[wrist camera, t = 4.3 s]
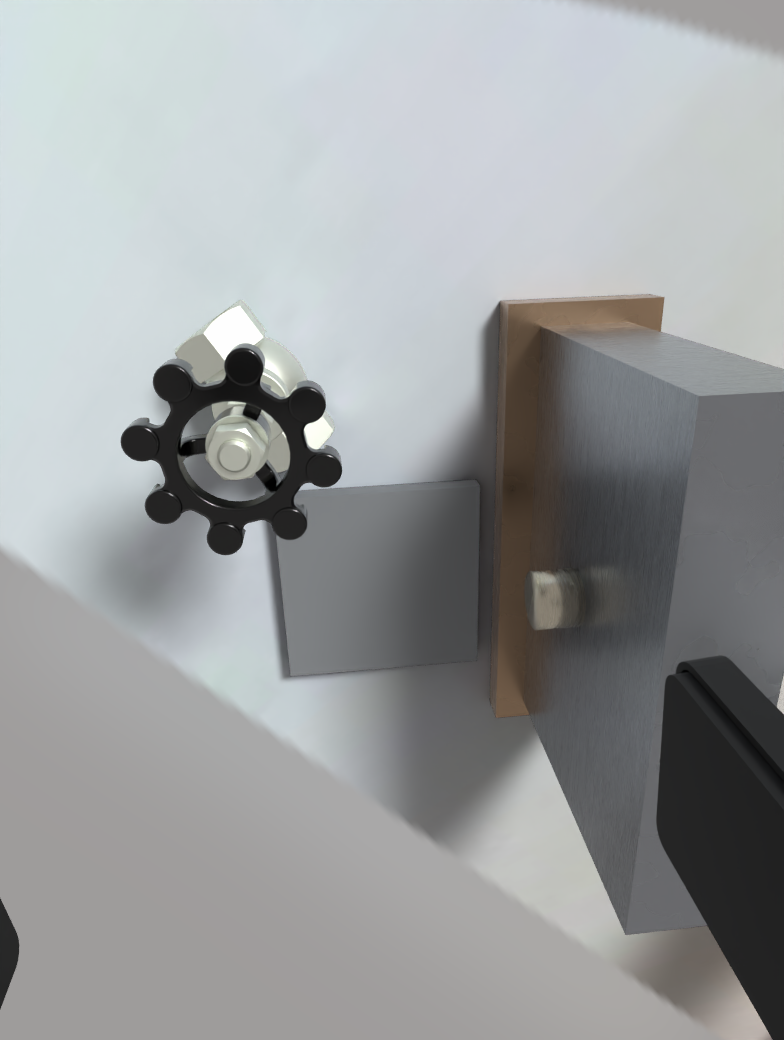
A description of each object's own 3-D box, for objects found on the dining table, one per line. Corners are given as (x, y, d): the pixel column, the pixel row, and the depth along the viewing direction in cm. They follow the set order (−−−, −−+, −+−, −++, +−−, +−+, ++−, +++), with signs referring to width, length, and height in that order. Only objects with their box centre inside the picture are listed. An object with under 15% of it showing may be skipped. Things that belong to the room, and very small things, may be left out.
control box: (649, 294, 33) (908, 346, 18) (608, 690, 41) (763, 937, 27) (493, 301, 32) (635, 360, 18) (484, 701, 40) (575, 959, 26)
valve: (250, 474, 34) (218, 593, 23) (156, 361, 32) (70, 433, 21) (362, 395, 33) (385, 480, 22) (274, 273, 31) (251, 299, 20)
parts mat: (475, 479, 35) (480, 486, 34) (473, 650, 39) (477, 660, 38) (273, 492, 34) (272, 499, 34) (291, 665, 38) (290, 676, 37)
